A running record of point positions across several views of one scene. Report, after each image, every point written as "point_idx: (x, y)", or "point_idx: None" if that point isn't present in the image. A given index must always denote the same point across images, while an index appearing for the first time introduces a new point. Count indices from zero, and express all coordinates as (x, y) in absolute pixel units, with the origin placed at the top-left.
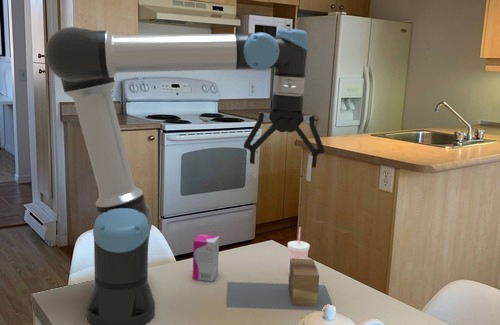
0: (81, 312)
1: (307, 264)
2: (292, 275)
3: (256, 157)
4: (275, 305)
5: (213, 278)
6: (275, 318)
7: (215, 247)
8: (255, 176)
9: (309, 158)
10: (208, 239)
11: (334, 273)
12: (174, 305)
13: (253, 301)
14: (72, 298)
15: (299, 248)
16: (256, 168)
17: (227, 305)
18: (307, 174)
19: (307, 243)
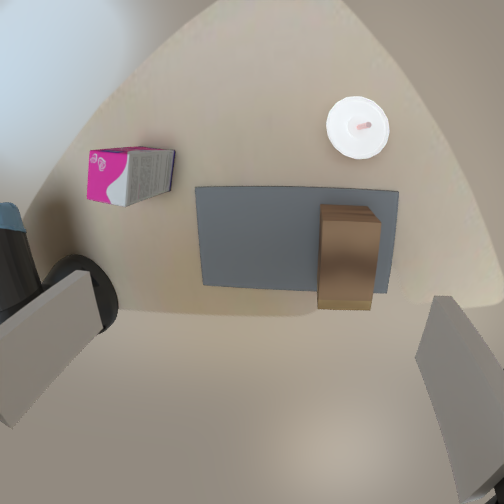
0: None
1: (359, 255)
2: (319, 273)
3: (27, 402)
4: (286, 279)
5: (166, 191)
6: (283, 311)
7: (135, 193)
8: (95, 331)
9: (456, 483)
10: (110, 187)
11: (429, 123)
12: (131, 272)
13: (247, 265)
14: (34, 254)
15: (357, 158)
16: (70, 359)
17: (204, 280)
18: (433, 361)
19: (384, 117)
